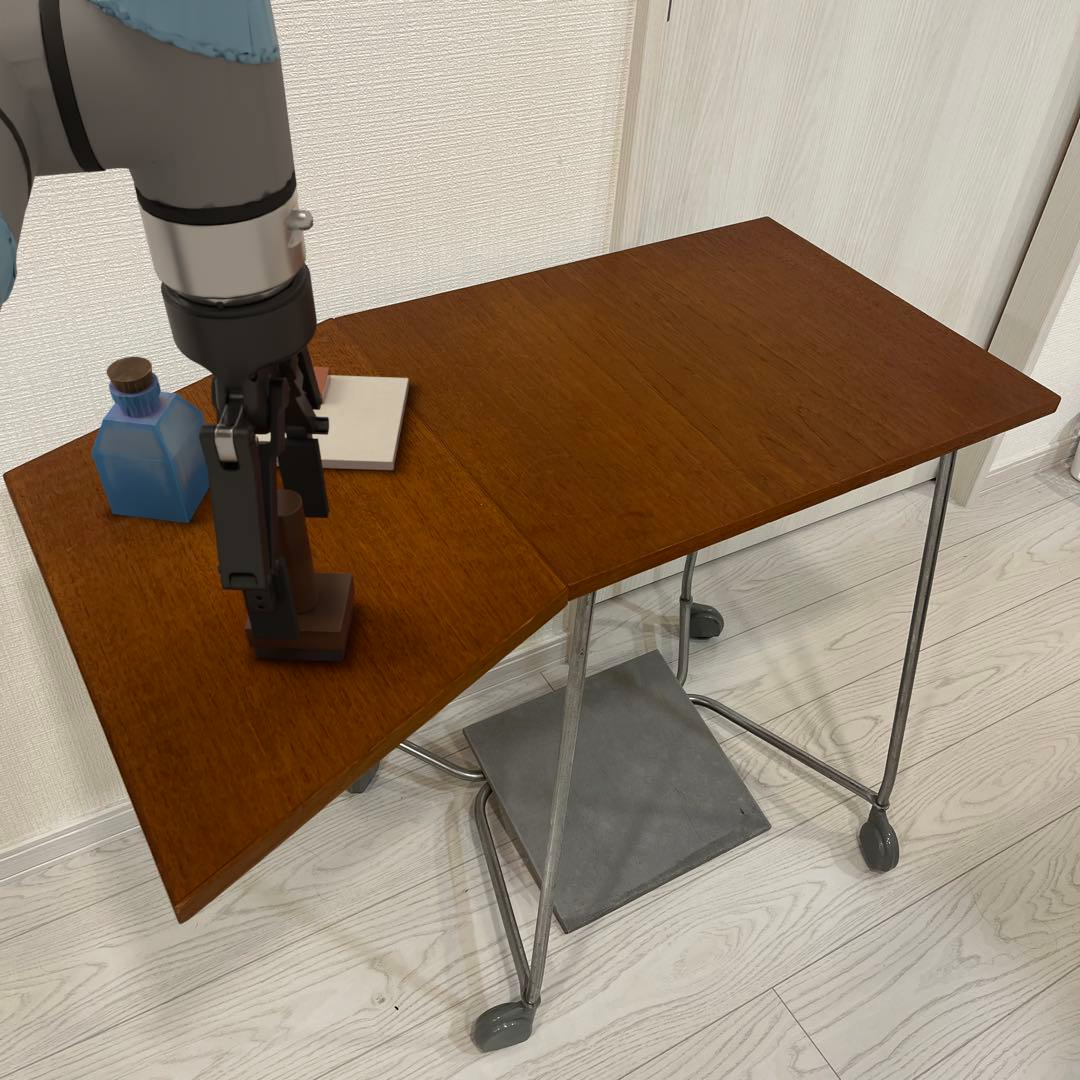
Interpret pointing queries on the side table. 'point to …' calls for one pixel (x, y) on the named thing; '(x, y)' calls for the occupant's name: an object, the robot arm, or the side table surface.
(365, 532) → the side table surface
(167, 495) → the perfume bottle
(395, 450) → the tile
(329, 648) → the stamp
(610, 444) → the side table surface
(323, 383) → the reddish-brown flat block
